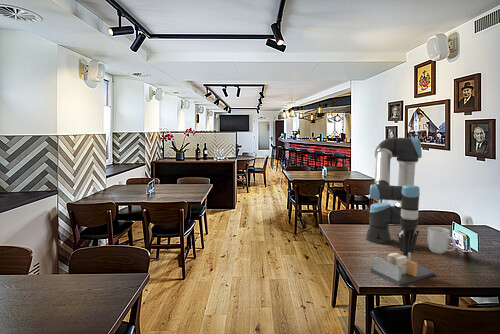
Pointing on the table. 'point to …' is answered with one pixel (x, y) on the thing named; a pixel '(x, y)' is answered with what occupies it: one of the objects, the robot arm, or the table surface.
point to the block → (398, 260)
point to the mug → (439, 239)
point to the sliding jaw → (411, 267)
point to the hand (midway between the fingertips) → (406, 265)
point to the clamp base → (407, 276)
